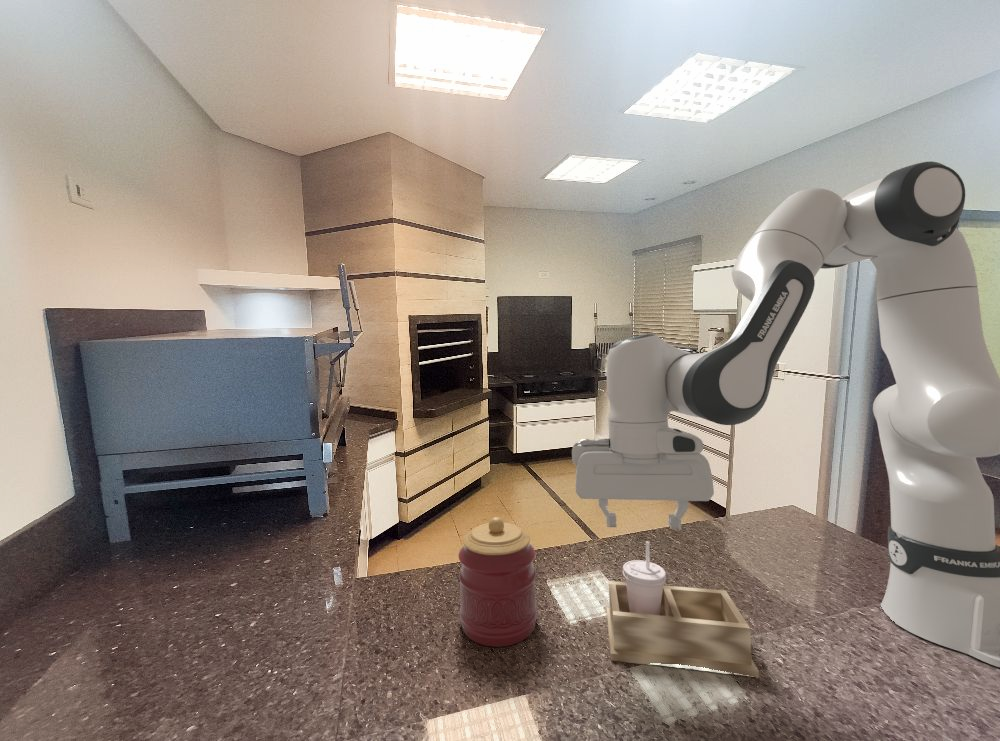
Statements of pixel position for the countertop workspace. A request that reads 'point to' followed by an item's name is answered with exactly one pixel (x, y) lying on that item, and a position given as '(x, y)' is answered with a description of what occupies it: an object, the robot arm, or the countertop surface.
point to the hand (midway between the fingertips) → (642, 527)
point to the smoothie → (644, 585)
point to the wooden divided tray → (681, 630)
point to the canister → (497, 584)
